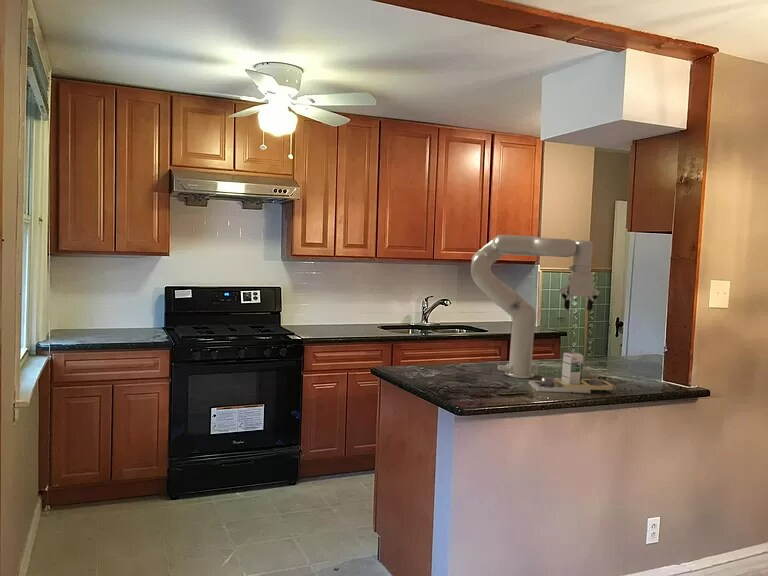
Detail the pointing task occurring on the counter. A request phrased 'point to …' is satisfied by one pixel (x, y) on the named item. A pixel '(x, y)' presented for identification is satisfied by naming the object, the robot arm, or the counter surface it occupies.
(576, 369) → the syrup box
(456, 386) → the counter surface
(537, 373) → the counter surface
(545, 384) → the steel end link
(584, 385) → the brass end link
